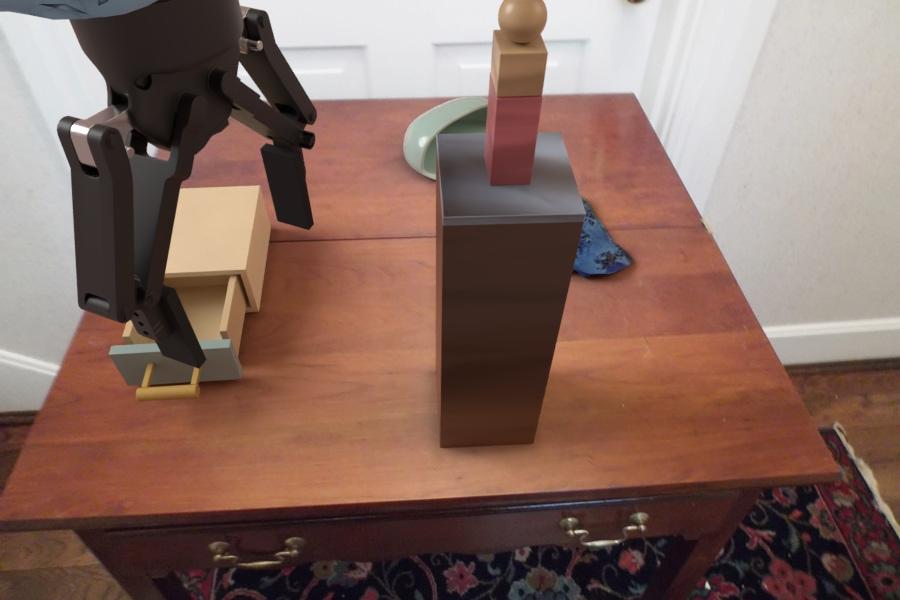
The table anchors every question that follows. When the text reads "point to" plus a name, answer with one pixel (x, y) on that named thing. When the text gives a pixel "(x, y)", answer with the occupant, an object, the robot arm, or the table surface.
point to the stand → (500, 288)
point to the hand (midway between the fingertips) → (245, 284)
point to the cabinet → (221, 236)
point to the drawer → (216, 327)
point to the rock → (598, 248)
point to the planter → (442, 130)
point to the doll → (515, 91)
